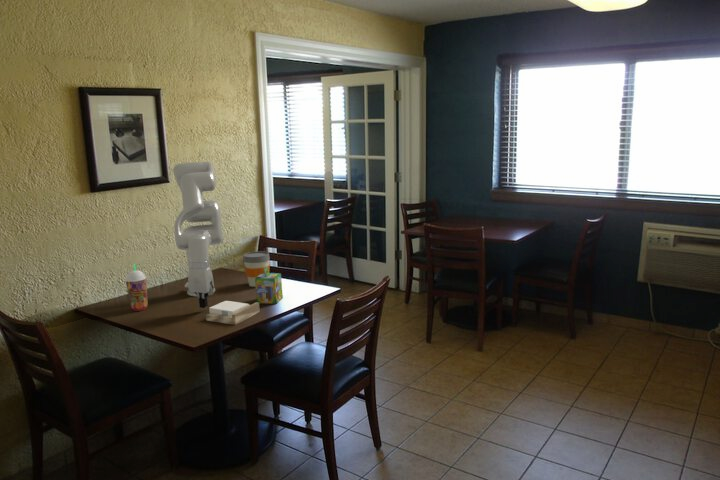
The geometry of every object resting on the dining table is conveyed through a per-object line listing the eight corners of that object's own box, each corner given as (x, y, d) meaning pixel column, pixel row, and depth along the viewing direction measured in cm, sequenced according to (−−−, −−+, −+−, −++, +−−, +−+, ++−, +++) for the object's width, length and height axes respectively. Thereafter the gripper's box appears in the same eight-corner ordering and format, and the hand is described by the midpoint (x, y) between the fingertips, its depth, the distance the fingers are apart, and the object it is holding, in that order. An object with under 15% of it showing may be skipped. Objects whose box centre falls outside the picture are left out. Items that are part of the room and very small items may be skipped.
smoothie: (130, 313, 241) (124, 267, 237) (128, 308, 248) (122, 263, 244) (151, 309, 245) (145, 264, 241) (148, 304, 252) (143, 260, 248)
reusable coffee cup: (250, 289, 269) (247, 258, 266) (241, 283, 279) (239, 253, 276) (275, 285, 275) (273, 254, 272) (266, 279, 286) (263, 249, 282)
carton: (210, 319, 231) (209, 307, 230) (227, 311, 240) (225, 300, 239) (233, 323, 225) (232, 311, 224) (249, 315, 234) (248, 303, 233)
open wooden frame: (206, 320, 229) (205, 311, 228) (231, 308, 243) (230, 299, 242) (236, 324, 223) (235, 315, 222) (259, 311, 237) (258, 302, 236)
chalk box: (276, 304, 246) (274, 271, 243) (256, 303, 248) (253, 270, 245) (283, 297, 255) (281, 265, 252) (264, 297, 256) (261, 265, 253)
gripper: (179, 265, 235) (183, 307, 239) (208, 268, 229) (212, 312, 233) (191, 260, 242) (195, 301, 246) (220, 263, 235) (223, 306, 240)
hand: (203, 306), depth 240 cm, fingers closed
